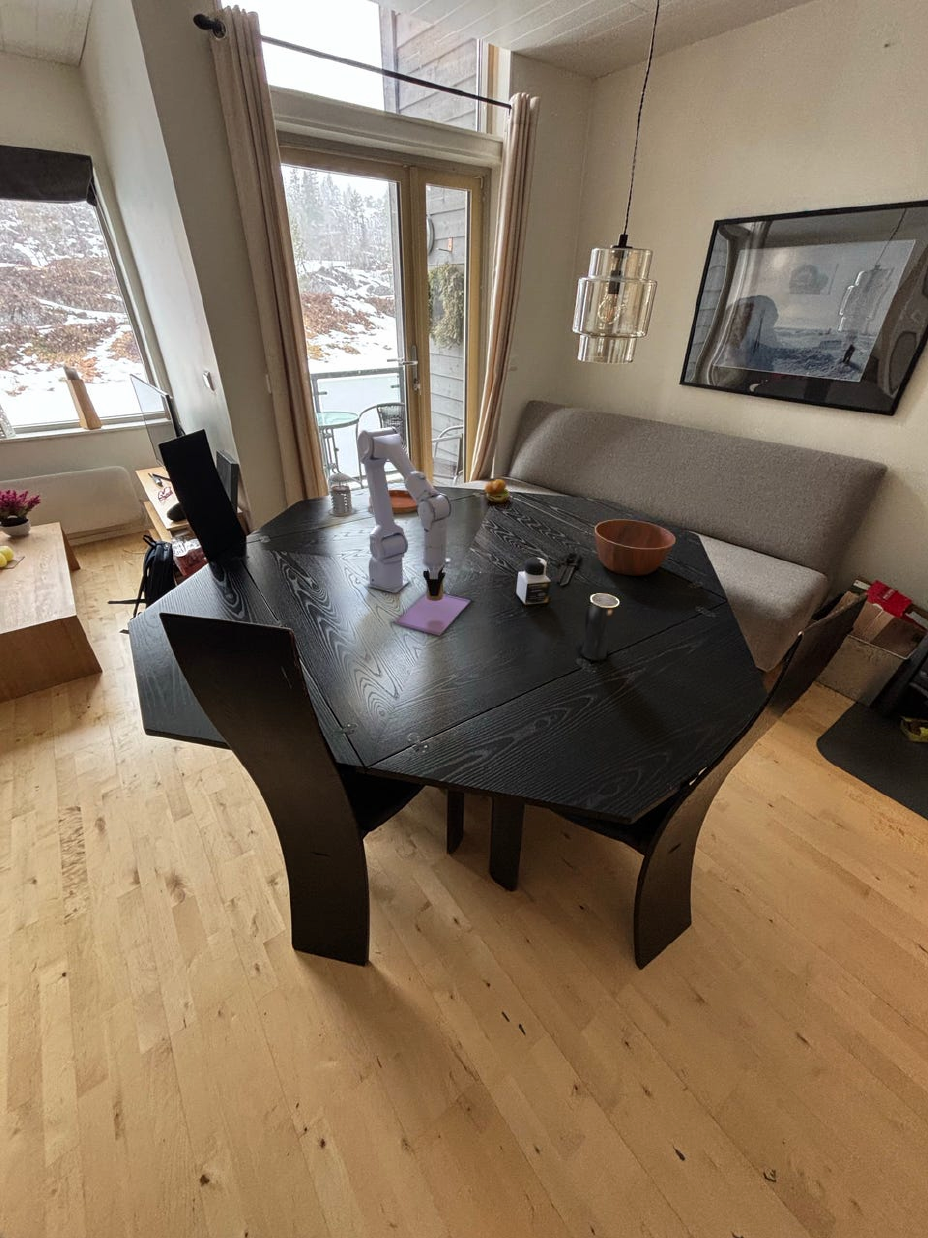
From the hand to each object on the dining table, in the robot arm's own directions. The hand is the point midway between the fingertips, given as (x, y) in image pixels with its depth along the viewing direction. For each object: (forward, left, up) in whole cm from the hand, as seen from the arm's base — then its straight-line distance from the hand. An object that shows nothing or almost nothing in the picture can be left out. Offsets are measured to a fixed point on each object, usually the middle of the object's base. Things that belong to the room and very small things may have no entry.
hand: (434, 591), depth 133 cm
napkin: (0, 0, -6) cm, 6 cm away
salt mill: (0, 0, -2) cm, 2 cm away
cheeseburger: (-19, +98, -2) cm, 99 cm away
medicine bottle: (+21, +20, -7) cm, 30 cm away
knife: (+26, +43, -7) cm, 51 cm away
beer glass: (+43, 0, -7) cm, 44 cm away
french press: (-68, +53, -7) cm, 86 cm away
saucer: (-53, +70, -7) cm, 88 cm away
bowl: (+43, +56, -7) cm, 71 cm away
